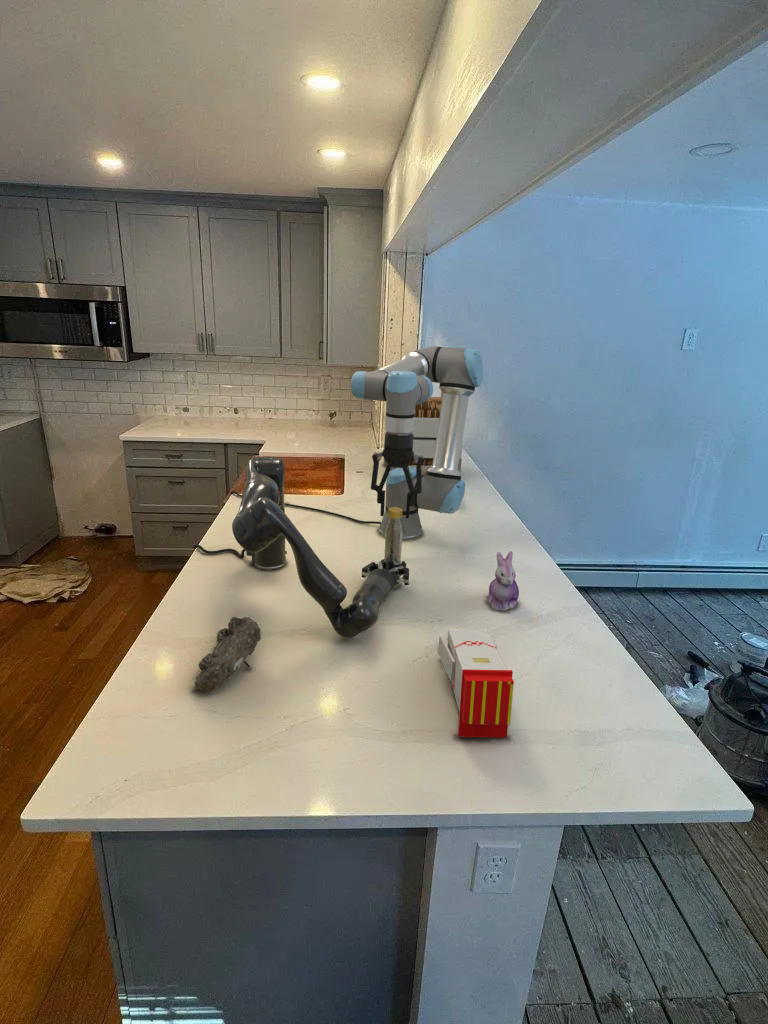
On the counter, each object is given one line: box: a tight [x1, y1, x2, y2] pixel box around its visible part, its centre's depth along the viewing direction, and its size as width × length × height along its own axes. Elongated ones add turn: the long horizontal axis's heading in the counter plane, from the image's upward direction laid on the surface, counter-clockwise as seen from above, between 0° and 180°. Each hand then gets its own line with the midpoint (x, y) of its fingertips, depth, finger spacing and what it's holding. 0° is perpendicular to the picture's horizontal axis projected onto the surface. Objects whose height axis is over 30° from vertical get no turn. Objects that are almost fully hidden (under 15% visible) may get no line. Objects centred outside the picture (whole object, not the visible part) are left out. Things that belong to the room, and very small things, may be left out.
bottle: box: [383, 518, 403, 590], centre depth 159 cm, size 5×5×22 cm
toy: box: [437, 628, 515, 738], centre depth 117 cm, size 12×13×30 cm
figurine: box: [487, 550, 520, 612], centre depth 153 cm, size 9×10×15 cm
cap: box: [388, 507, 403, 519], centre depth 155 cm, size 4×4×2 cm
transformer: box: [383, 391, 464, 475], centre depth 268 cm, size 34×33×41 cm
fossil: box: [194, 616, 262, 693], centre depth 122 cm, size 22×10×15 cm
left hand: (394, 562), depth 163 cm, fingers closed on bottle, 4 cm apart
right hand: (394, 515), depth 155 cm, fingers open, 6 cm apart
